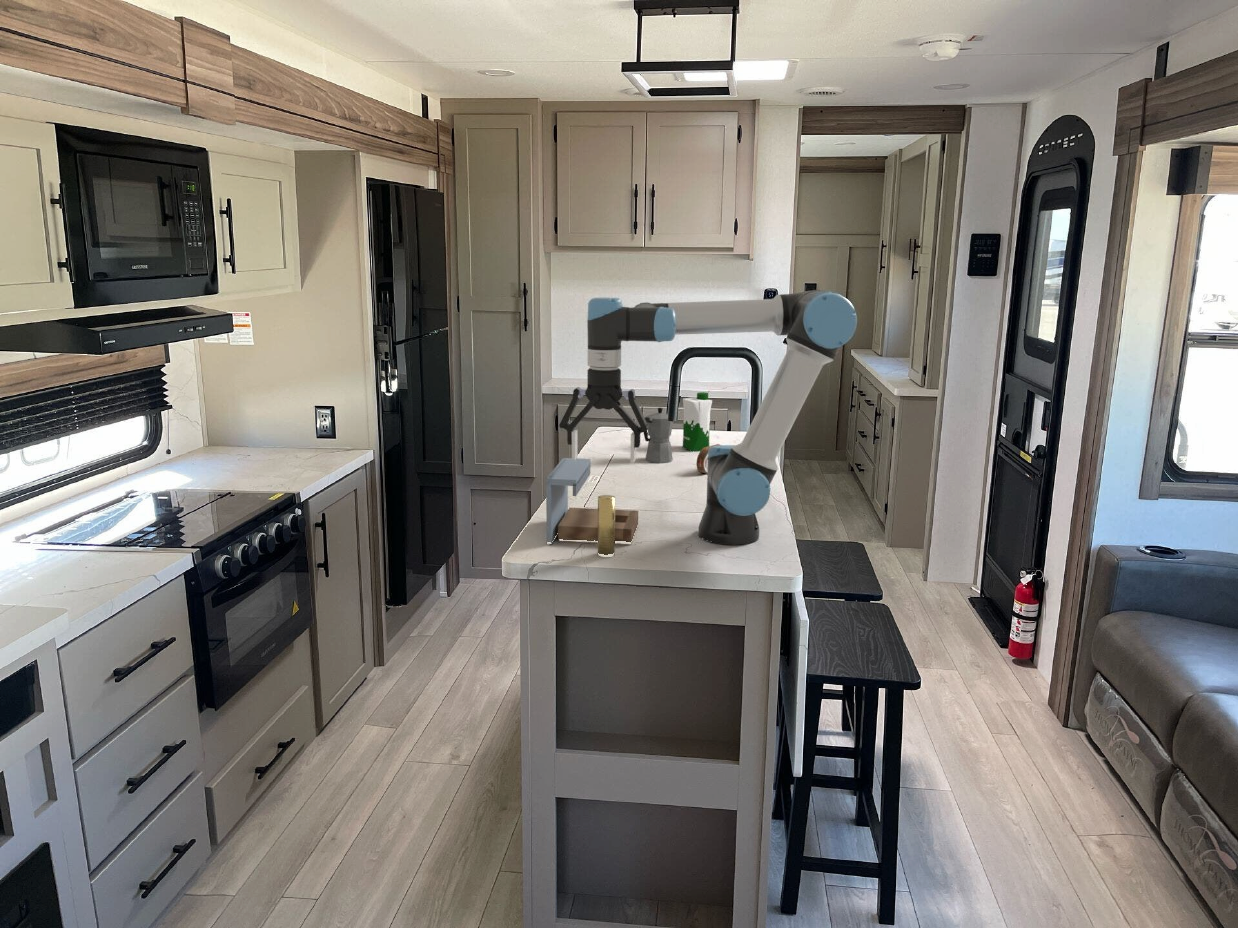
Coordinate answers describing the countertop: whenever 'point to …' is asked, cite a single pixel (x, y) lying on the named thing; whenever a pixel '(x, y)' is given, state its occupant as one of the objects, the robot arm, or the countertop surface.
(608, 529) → the peg
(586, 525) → the socket block
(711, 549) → the countertop surface
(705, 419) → the milk carton
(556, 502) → the blue-grey hooked bracket
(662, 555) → the countertop surface
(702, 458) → the brown curved piece
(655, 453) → the coffeepot
